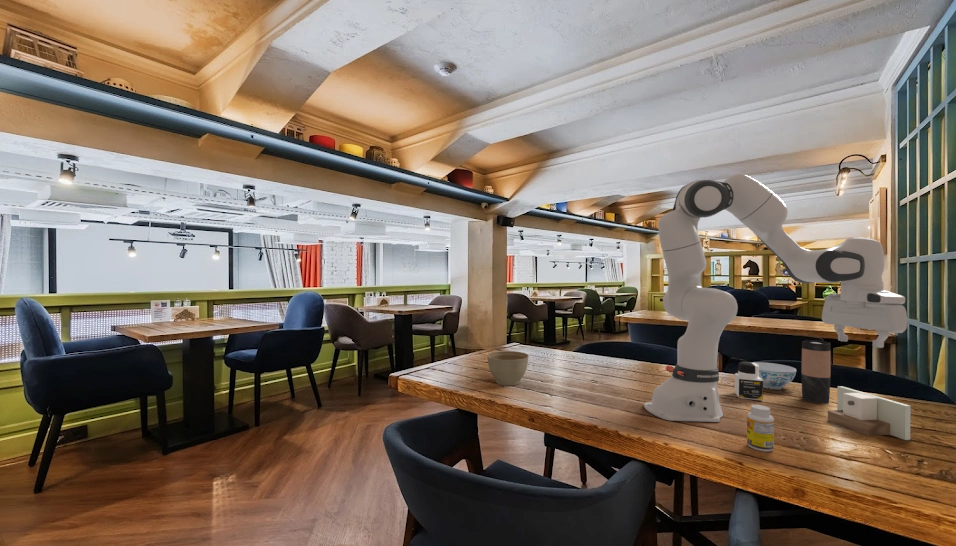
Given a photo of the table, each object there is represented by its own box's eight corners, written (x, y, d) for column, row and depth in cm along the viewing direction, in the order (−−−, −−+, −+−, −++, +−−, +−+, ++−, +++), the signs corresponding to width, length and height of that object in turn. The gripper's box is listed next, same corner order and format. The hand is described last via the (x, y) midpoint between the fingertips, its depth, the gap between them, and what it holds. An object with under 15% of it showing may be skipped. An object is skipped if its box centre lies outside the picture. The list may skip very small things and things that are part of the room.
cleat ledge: (867, 435, 109) (867, 424, 109) (827, 420, 120) (827, 410, 120) (890, 434, 110) (890, 423, 110) (848, 419, 121) (848, 409, 121)
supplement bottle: (748, 441, 106) (748, 401, 106) (774, 447, 102) (775, 406, 102) (745, 448, 102) (745, 407, 101) (772, 454, 98) (773, 412, 98)
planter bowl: (489, 376, 169) (489, 350, 168) (528, 378, 166) (528, 351, 166) (484, 387, 153) (484, 358, 152) (528, 389, 150) (528, 360, 150)
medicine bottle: (738, 398, 141) (739, 363, 141) (734, 392, 148) (734, 359, 148) (763, 401, 138) (763, 365, 138) (757, 395, 145) (758, 361, 145)
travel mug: (835, 404, 135) (836, 344, 135) (809, 403, 136) (809, 343, 136) (821, 397, 142) (821, 340, 142) (796, 396, 144) (797, 339, 144)
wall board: (905, 440, 107) (905, 405, 107) (837, 415, 125) (837, 386, 125) (910, 439, 107) (910, 405, 107) (841, 415, 125) (841, 386, 125)
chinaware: (748, 379, 166) (748, 360, 165) (795, 385, 157) (795, 365, 157) (746, 388, 153) (746, 367, 153) (797, 395, 145) (797, 373, 144)
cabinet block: (858, 420, 112) (859, 398, 112) (840, 414, 117) (840, 393, 117) (877, 419, 113) (877, 398, 113) (858, 413, 118) (858, 392, 118)
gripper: (816, 292, 125) (815, 337, 125) (891, 297, 105) (889, 351, 105) (834, 293, 126) (833, 337, 126) (912, 298, 105) (911, 351, 106)
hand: (859, 344), depth 115 cm, fingers open, 8 cm apart
